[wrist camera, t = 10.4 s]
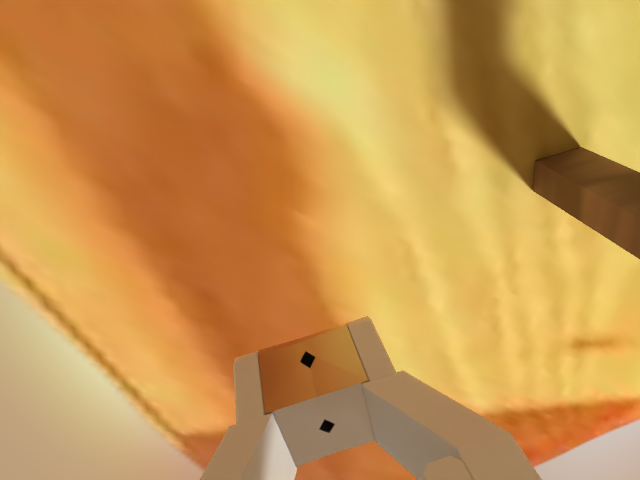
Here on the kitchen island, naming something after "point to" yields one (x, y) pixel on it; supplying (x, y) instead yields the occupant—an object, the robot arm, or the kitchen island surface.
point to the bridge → (594, 193)
